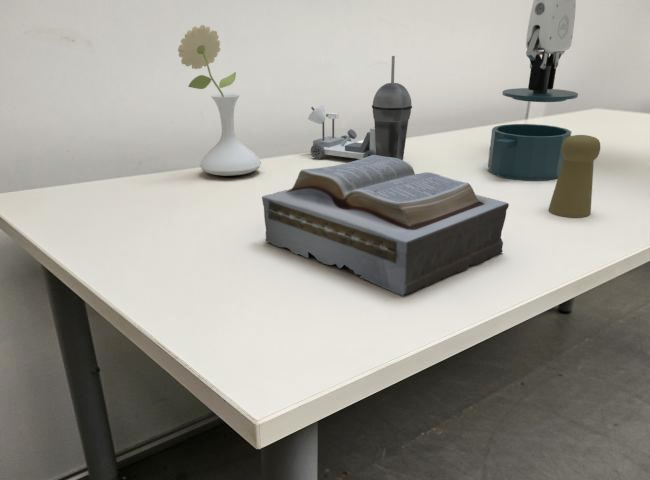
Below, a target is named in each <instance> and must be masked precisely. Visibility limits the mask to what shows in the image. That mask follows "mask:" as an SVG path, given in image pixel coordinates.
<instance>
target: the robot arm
mask: <svg viewBox="0 0 650 480" xmlns="http://www.w3.org/2000/svg"><path fill="white" fill-rule="evenodd" d="M576 1H577V0H533V2H532V5H531V10H530V13H529V14H530V15H529V18H528V19H529V20H528V26H527V30H526V31H527V32H526V38H525V39H526V40H525V43H526V44H525V47H526V52H525V56H526V57H527V58H528V59H529V62H530V63H529V68H530V73H529V78H528V79H529V80H528V86H527V88H528V89H529V90H535V91H543V90H544V86H545V79H546V73H547V69H545V67H546V65H550V66H551V71H550V77H549V84H548V89H554V87H555V86H554V85H555V77H556V72H557V68H558V66H559V60H560V59H561V57H562V56H563V55H564V54H565V52H566V51H568V50H569V49H571V46H572V43H573V38H574V37H573V35H574V29H575V28H574V27H575V20H576V19H575V18H576V10H577V9H576V6H577V4H576V3H577V2H576Z"/></svg>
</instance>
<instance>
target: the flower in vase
mask: <svg viewBox="0 0 650 480" xmlns="http://www.w3.org/2000/svg"><path fill="white" fill-rule="evenodd" d="M180 43H181V44H180V45H178V48H177V52H178V57H179V58H181V64H182V65H185V66H186V67H190V66H191V68H192V69H193V70H194V69H195V70H198V69H199V70H200V69H203V67H207V71H208V75H209V76H207V75H204V74H199V75H197V76H196V77H194V78H193V79H192V80H191V81H190V83H189V84H188V88H192V89H197V90H204V89H206V88H207V87H208V86H210V83H211V82H212V83H213V84H214V86H215V88H217V90H218V93H215V94H211V95H210V97H211V98H212V100H213V101H214V102H215V104H216V106H217V109H218V113H219V117H220V124H221V135H220V138H219V140H218V142H217V143H216V144H215V145H214V146H212V148H211V149H210V150H209V151H207V153H206V154H205V155H203V157H202V158H201V160H200V161H199V167H200V169H201V170H202V171H203V172H205V173H208V174H210V175H214V176H223V177H225V176H226V177H228V176H229V177H231V176H232V177H234V176H241V175H246V174H250V173H253V172H254V171H257V170H258V169H259V168H260V167H261V165H262V162H261V159H260V157H259V156H258V155H257V154H256V153H255V152H253V151H252V150H251V149H250V148H248V147H247V146H245V145H244V144H243V143H242V142H241V141H240V140H239V139H238V137H237V135H236V132H235V125H234V123H235V121H234V118H235V117H234V116H235V107H236V103H237V101H238V99H239V98H240V94H239V93H223V91H222V90H221V89H223V88H226V87H228V86H231V85H233V83H234V82H235V80H236V77H237V71H234V72H233V73H232V74H230V75H228V76H226V77H223V78H222V79H220V81H219V83H217V82H216V81H215V80H214V77H213V76H212V73H211V69H210V65H209V64H213V63H214V62H215V61H216V59H215V58H217V57H218V55H219V53H220V51H221V47H220V45H221V44H220V43H221V41H220V40H219V34H218V31H217V30H214V29H213V30H211V27H210V26H205V25H204V24H201V25H200V26H199V27H197V26H195V25H194V26H193V27H192V29H191V30H187V32H186V33H185V34H184V37H183V38H181V40H180ZM218 84H219V85H218Z"/></svg>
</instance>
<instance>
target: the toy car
mask: <svg viewBox="0 0 650 480" xmlns="http://www.w3.org/2000/svg"><path fill="white" fill-rule="evenodd" d="M310 109H311V110H312V111H311V112H310V113H309V115H308V116H307V119H308V120H309V121H311V122H313V123H315V124H319V125H322V127H321V128H322V130H321V131H322V132H321V133H322V135H321V136H322V137H321V138H317V139H314V140H313V141H312V146H311V147H310V155H311V157H312V158H313V159H315V160H320V159H322V158H324V157H325V155H328V156H334V157H342V158H349V159H356V160H359V159H362V158H366V157H368V156H371V155H376V143H375V126H374V127H370V128H369V131H367V132H366V135H365V137H364V138H363V139H361V140H358V141H352V140H355V139H356V138H358V137H357V136H358V135H357V133H356V131H355V130H354V129H351V128H350V129H349V130H347V132H346V133H347V135H341V136H340V137H339V136H335V120H338V119H339V118H340V117H339V116H340V115H339V113H337V112H328V113H326V112H325V107H324V105H320V106H318V107H316V108H314V106H311V107H310ZM326 118H327V119H331V124H332V125H331V129H332V130H331V133H332V134H331V135H332V136H331V135H330V136H329V135H328V136H325V121H326Z"/></svg>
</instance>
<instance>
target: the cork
mask: <svg viewBox="0 0 650 480" xmlns="http://www.w3.org/2000/svg"><path fill="white" fill-rule="evenodd" d="M561 152H562V156H563V158H564V160H563V163H562V167H561V170H560V173H559V176H558V178H557V179H556V183H555V186H554V189H553V193H552V196H551V198H550V199H551V200H550V202H549V205H548V210H547V211H548V212H549V213H551V214H553V215H556V216H559V217H565V218H585V217H589V216H590V215H591V214H592V194H593V179H594V164H595V163H594V161H595V160H596V159H597V158H598V157H599V155H600V153H601V142H600V139H599V138H597V137H596V136H592V135H587V134H574V135H571V136H569V137H567V138H566V139H565V140H564V142H563V144H562V149H561Z"/></svg>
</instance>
